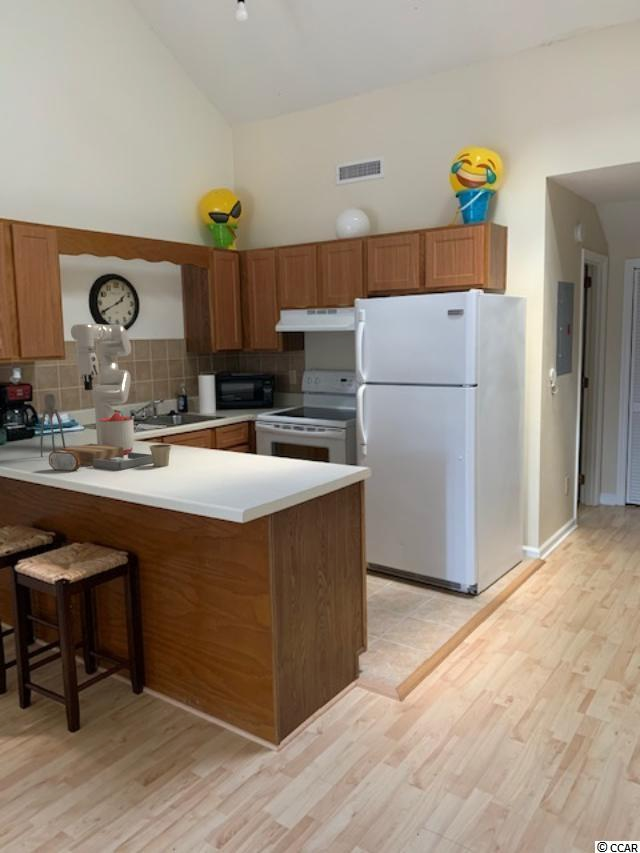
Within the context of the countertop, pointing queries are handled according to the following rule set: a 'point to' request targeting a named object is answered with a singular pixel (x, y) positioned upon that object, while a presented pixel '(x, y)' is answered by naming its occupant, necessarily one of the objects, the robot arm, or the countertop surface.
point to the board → (96, 452)
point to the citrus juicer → (118, 432)
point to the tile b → (116, 459)
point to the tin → (64, 460)
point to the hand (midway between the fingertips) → (88, 389)
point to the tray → (125, 462)
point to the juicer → (50, 410)
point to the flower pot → (160, 454)
